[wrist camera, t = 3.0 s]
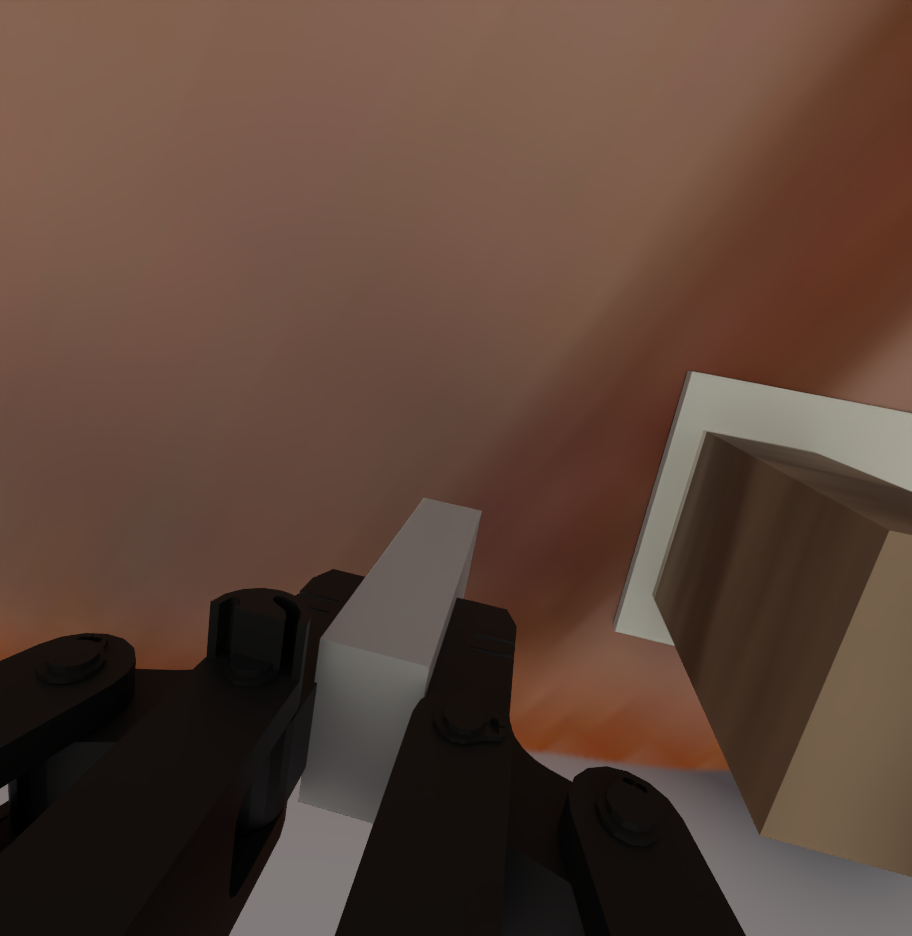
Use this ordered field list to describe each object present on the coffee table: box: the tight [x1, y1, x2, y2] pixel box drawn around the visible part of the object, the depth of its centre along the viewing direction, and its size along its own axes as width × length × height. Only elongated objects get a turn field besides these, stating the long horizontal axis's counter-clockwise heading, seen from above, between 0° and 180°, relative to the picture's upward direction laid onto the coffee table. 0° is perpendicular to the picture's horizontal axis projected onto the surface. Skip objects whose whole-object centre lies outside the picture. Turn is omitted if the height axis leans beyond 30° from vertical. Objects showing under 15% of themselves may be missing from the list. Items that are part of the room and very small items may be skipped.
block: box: [652, 430, 912, 877], centre depth 15 cm, size 4×7×11 cm, turn 170°
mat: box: [613, 371, 912, 646], centre depth 20 cm, size 18×11×2 cm, turn 80°
